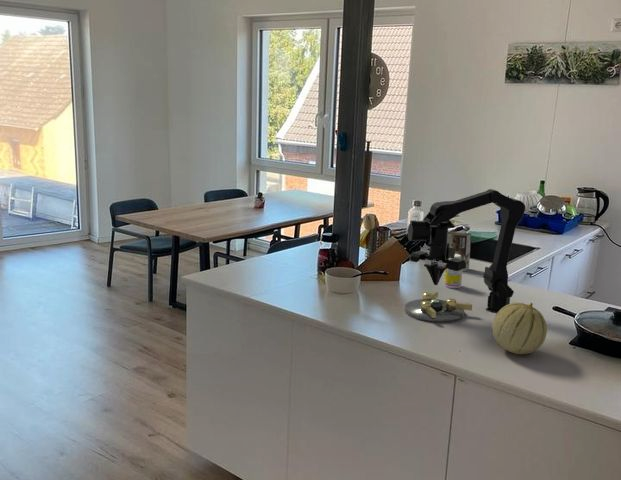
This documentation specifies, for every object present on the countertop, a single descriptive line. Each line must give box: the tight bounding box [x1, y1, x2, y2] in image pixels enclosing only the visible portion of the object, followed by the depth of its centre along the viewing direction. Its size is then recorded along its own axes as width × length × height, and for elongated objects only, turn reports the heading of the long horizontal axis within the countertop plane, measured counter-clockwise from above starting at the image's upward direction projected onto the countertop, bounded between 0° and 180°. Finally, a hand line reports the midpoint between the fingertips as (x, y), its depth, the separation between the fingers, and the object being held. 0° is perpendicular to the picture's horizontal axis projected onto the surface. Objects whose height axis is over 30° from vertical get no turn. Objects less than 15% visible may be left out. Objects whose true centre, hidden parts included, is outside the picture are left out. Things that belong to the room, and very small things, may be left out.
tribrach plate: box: [404, 298, 465, 324], centre depth 199 cm, size 20×20×4 cm
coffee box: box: [446, 230, 472, 272], centre depth 254 cm, size 9×6×16 cm
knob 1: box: [422, 291, 439, 301], centre depth 206 cm, size 9×3×3 cm, turn 141°
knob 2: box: [421, 301, 436, 318], centre depth 193 cm, size 9×3×3 cm, turn 10°
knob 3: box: [445, 298, 473, 311], centre depth 197 cm, size 9×3×3 cm, turn 77°
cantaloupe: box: [492, 302, 548, 355], centre depth 166 cm, size 15×15×15 cm
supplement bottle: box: [443, 254, 463, 289], centre depth 229 cm, size 7×7×13 cm
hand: (435, 284), depth 198 cm, fingers closed
